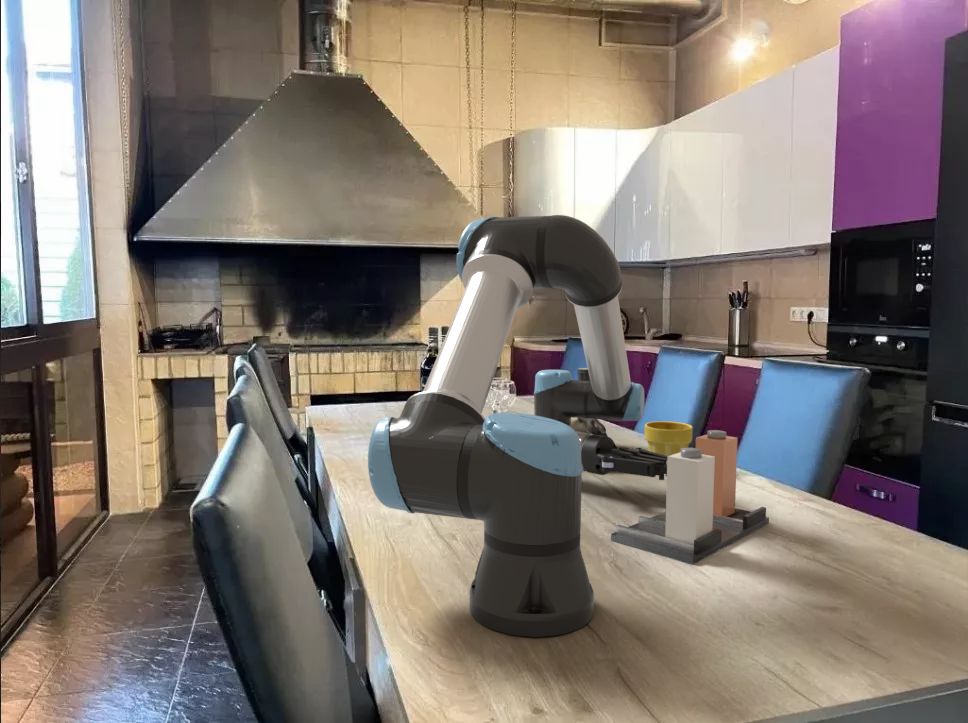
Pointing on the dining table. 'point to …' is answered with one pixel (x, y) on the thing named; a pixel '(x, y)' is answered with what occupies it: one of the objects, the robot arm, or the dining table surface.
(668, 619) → the dining table surface
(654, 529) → the dark grey divided tray
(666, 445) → the plant pot
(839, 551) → the dining table surface
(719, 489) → the orange square bottle
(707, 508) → the white square bottle
